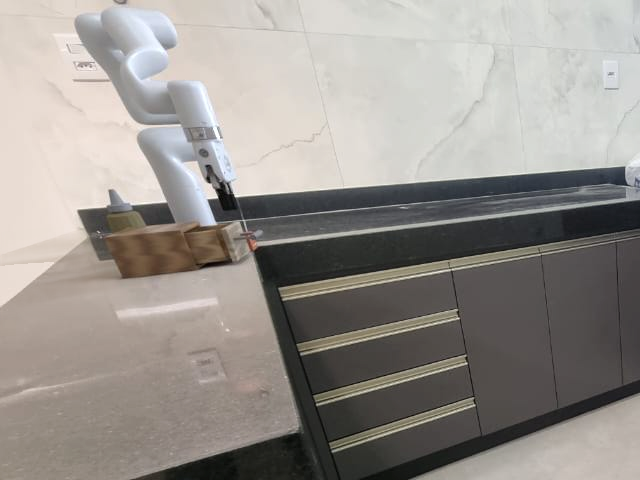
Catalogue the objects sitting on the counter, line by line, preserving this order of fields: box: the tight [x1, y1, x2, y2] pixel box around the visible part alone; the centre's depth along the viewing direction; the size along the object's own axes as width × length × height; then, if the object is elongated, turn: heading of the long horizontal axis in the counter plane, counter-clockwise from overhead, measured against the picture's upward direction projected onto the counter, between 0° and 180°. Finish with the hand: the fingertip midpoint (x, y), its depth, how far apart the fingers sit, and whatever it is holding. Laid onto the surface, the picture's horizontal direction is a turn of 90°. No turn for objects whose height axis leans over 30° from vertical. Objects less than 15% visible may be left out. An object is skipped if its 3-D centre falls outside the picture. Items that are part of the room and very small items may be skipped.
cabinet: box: [102, 221, 207, 279], centre depth 129 cm, size 15×13×10 cm
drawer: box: [183, 221, 264, 264], centre depth 132 cm, size 18×11×8 cm, turn 111°
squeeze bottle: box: [105, 188, 147, 234], centre depth 136 cm, size 8×8×18 cm
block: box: [243, 230, 259, 252], centre depth 145 cm, size 5×5×5 cm
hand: (231, 209), depth 141 cm, fingers closed
